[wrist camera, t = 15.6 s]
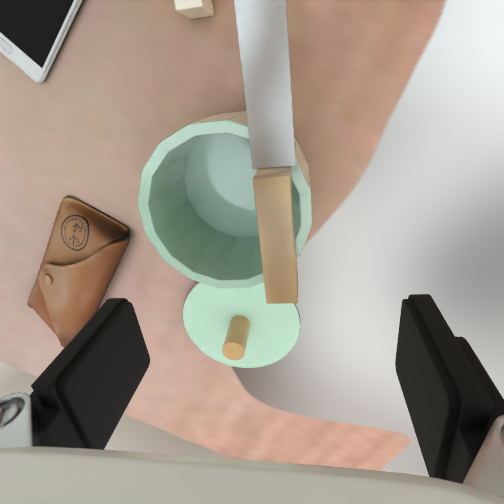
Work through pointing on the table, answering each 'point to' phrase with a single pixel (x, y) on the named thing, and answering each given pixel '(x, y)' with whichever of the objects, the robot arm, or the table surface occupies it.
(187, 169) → the pot
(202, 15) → the pair of cream blocks
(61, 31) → the smartphone
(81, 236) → the sunglasses case
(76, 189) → the table surface
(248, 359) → the lid
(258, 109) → the knife
